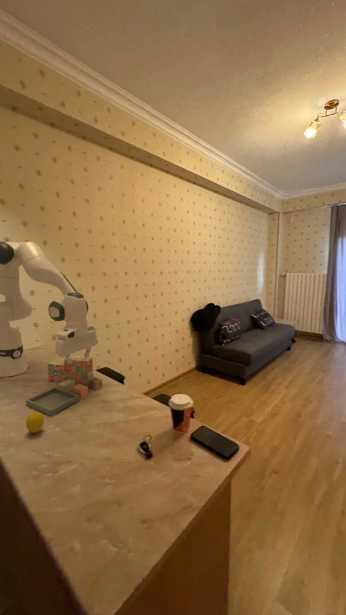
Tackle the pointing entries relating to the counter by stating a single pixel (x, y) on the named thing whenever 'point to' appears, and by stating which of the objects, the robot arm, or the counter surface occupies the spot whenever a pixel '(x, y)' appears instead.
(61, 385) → the sage brick
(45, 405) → the charcoal tray
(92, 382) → the walnut brick
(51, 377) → the stack of blocks
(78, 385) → the terracotta brick
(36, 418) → the lemon
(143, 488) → the counter surface
